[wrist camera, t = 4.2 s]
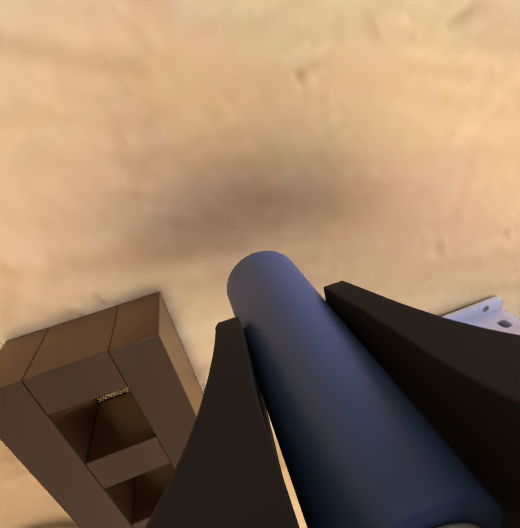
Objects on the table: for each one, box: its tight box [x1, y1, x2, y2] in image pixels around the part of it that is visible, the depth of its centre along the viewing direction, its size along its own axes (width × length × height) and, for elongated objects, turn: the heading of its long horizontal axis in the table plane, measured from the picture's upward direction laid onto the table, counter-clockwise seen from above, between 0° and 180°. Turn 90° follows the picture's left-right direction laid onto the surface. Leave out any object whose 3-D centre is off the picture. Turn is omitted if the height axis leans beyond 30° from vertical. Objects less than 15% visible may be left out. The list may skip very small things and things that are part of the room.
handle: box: [227, 251, 503, 528], centre depth 8 cm, size 3×3×10 cm
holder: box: [0, 292, 203, 528], centre depth 20 cm, size 8×20×4 cm, turn 13°
